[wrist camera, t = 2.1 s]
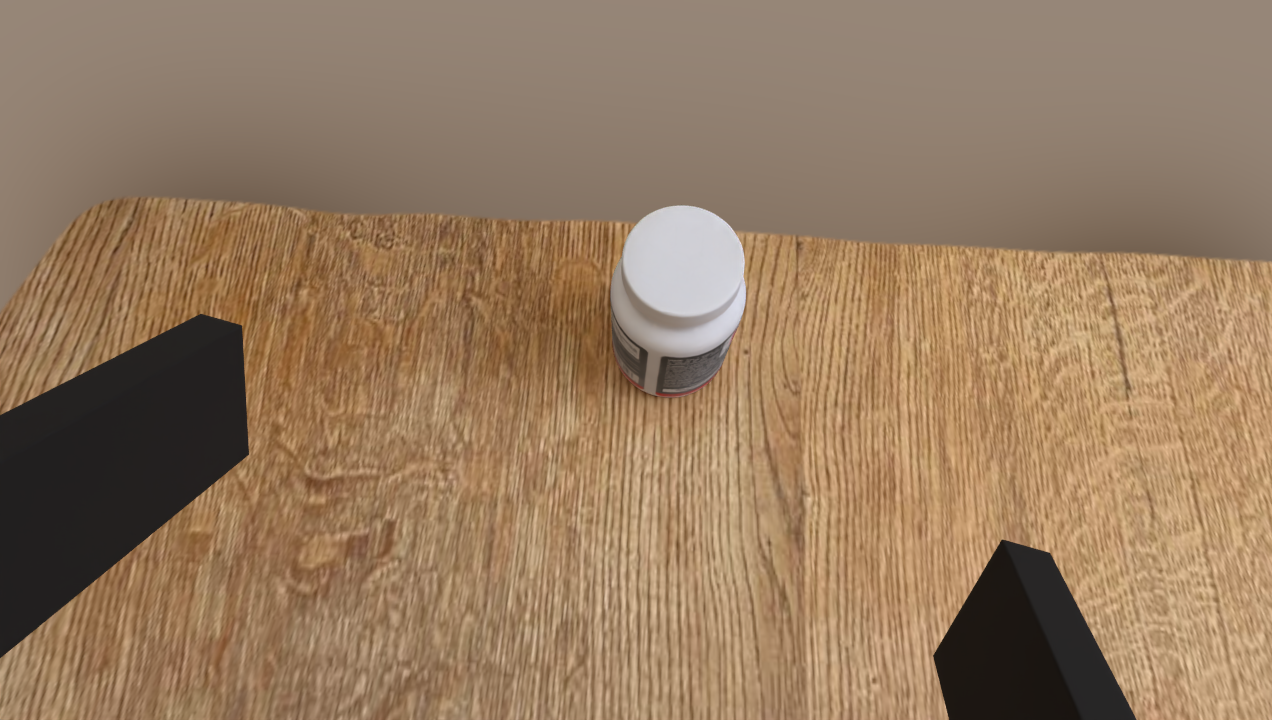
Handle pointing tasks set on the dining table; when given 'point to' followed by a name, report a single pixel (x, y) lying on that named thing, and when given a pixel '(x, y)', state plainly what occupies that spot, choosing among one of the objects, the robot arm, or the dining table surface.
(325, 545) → the dining table surface
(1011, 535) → the dining table surface
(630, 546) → the dining table surface
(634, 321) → the pill bottle
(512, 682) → the dining table surface
